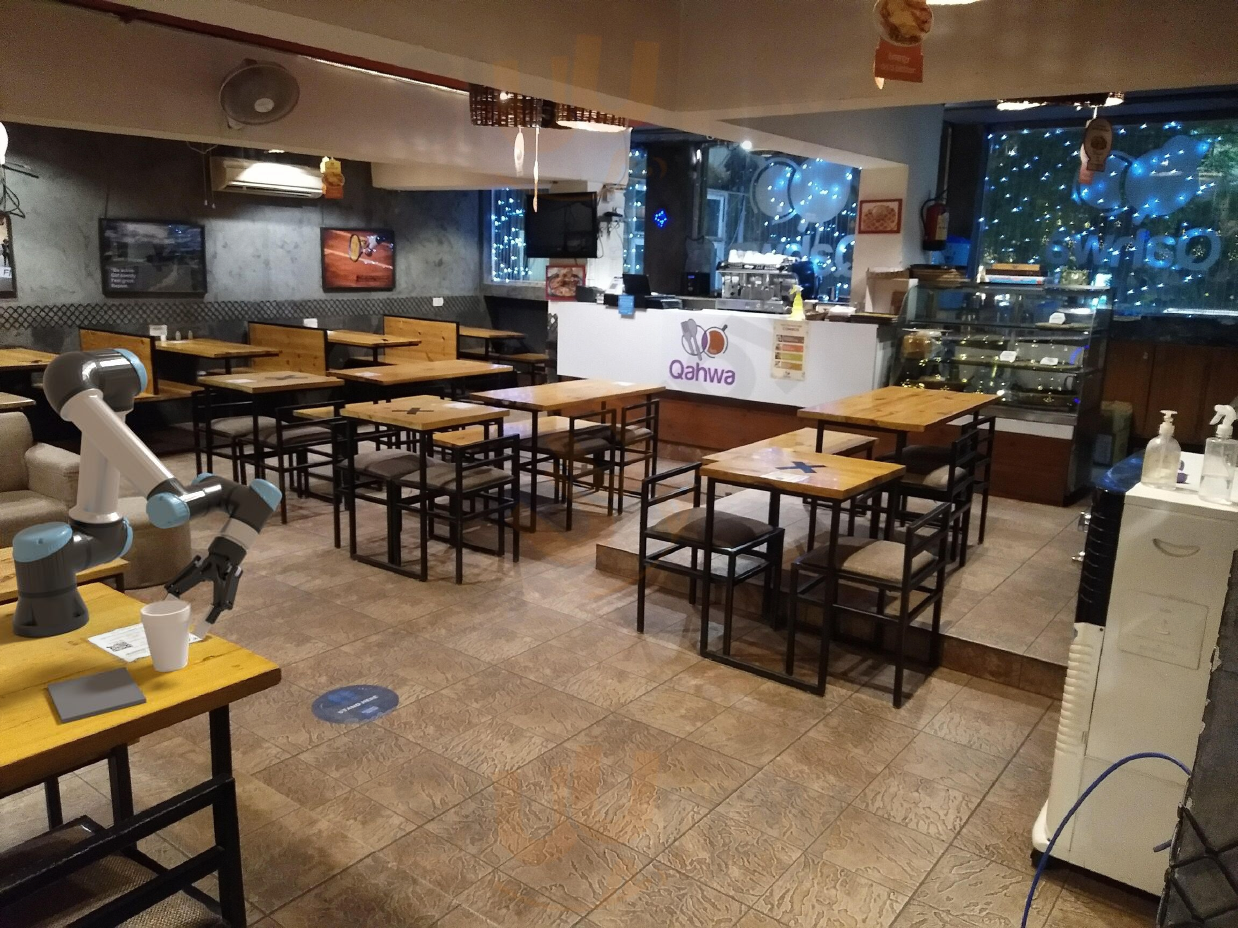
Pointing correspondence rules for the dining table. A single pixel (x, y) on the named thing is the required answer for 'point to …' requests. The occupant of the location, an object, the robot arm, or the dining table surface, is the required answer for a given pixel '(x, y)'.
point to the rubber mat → (95, 694)
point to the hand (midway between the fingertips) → (176, 629)
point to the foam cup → (167, 633)
